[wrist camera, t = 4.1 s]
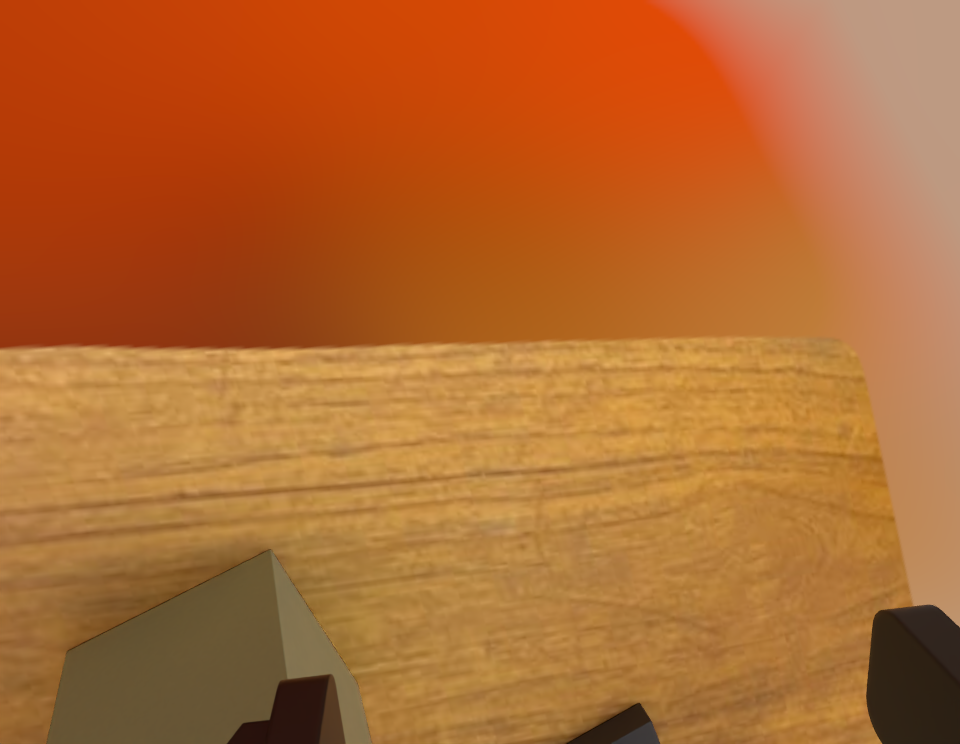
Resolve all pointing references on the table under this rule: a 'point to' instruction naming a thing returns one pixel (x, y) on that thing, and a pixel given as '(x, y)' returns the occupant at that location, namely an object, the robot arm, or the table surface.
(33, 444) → the table surface
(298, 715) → the robot arm
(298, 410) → the table surface
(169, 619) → the green block
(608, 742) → the stand
